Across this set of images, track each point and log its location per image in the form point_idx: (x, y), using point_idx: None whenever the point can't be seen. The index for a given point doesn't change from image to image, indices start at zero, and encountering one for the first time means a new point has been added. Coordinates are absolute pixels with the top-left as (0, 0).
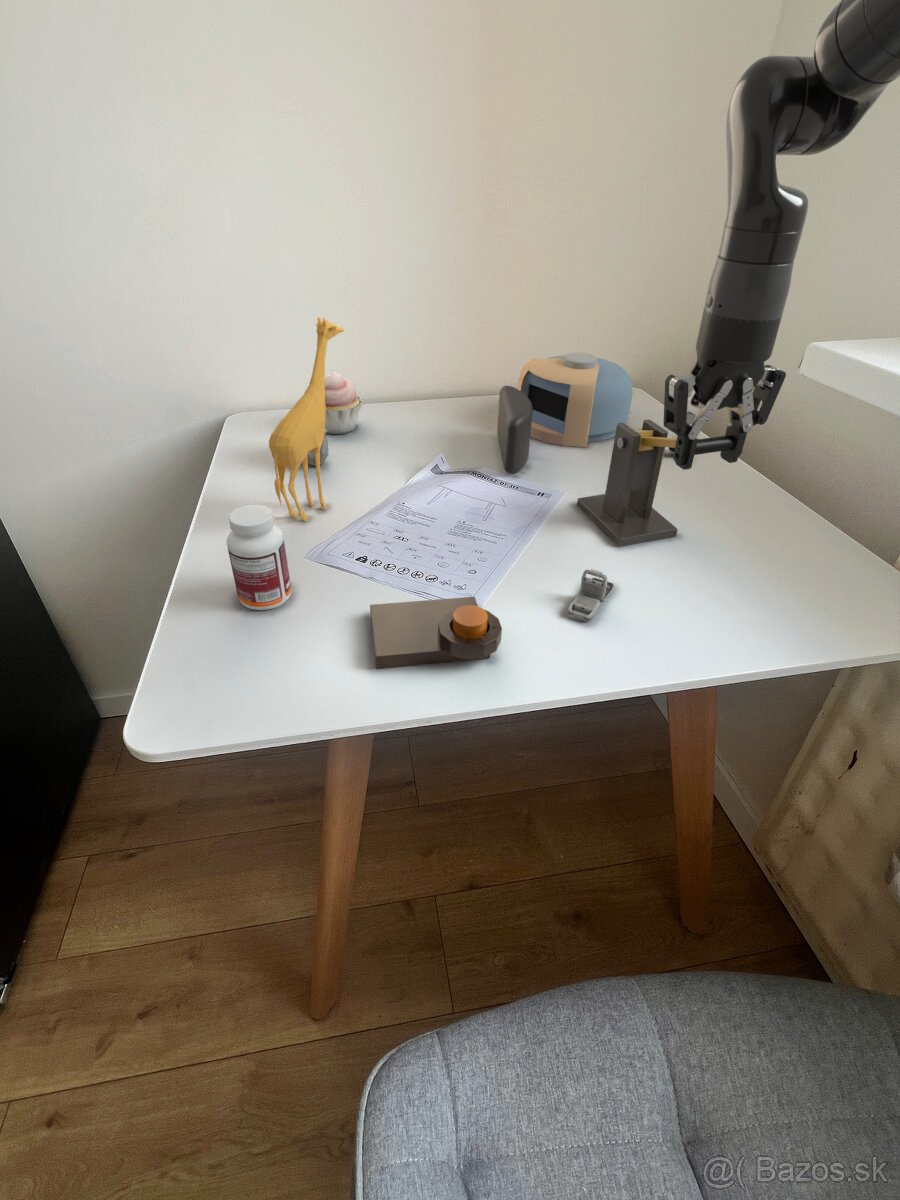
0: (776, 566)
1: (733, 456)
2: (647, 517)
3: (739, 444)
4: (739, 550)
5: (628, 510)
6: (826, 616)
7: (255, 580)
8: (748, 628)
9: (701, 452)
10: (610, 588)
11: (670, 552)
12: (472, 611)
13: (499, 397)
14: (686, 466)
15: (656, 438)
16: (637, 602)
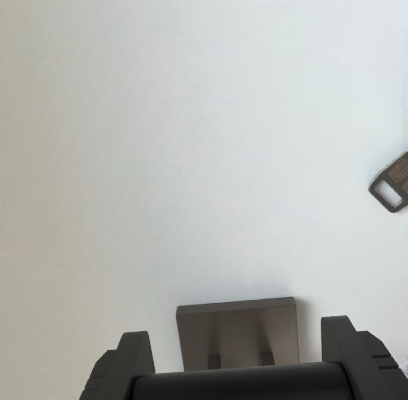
0: (46, 190)
1: (141, 344)
2: (213, 356)
3: (115, 381)
4: (87, 247)
5: None
6: (35, 30)
7: None
8: (193, 25)
9: (297, 364)
10: (380, 177)
11: (211, 264)
12: None
13: None
14: (348, 320)
15: None
16: (346, 137)
